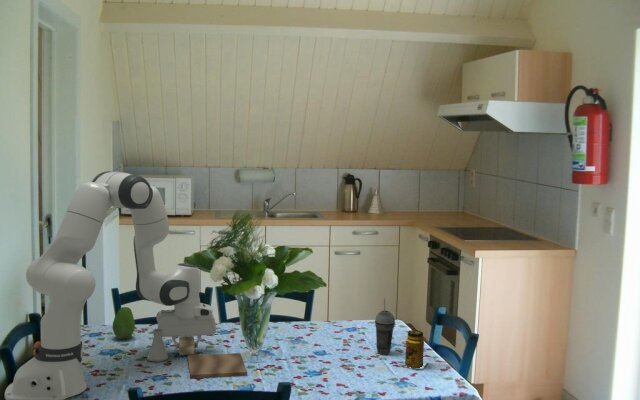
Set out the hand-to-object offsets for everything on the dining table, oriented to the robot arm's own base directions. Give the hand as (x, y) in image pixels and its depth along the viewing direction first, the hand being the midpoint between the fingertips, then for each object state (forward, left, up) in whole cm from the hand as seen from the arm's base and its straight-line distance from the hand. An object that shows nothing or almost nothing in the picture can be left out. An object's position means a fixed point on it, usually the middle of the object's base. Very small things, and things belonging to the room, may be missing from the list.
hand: (186, 347), depth 241 cm
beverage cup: (+69, -11, -2) cm, 70 cm away
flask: (-10, -5, -2) cm, 11 cm away
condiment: (+76, -24, -2) cm, 80 cm away
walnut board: (+9, -16, -2) cm, 18 cm away
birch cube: (0, 0, -2) cm, 2 cm away
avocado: (-22, +18, -2) cm, 28 cm away
